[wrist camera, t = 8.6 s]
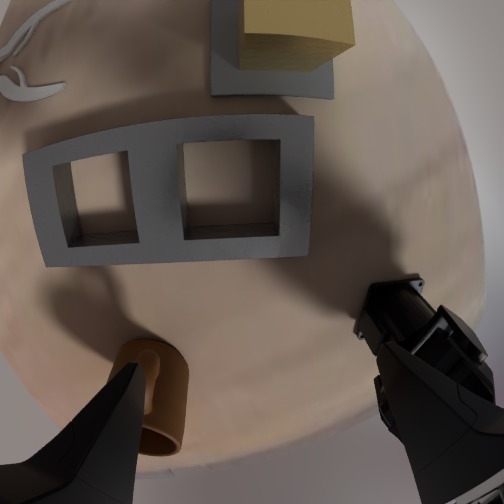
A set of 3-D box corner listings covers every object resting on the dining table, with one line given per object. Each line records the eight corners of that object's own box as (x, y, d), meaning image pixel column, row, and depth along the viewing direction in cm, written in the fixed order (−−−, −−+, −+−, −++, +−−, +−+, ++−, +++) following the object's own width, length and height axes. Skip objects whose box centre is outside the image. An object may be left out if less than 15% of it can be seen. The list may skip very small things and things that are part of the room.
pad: (325, 5, 12) (328, 2, 12) (330, 99, 16) (334, 98, 15) (212, -1, 12) (211, -5, 11) (211, 96, 15) (211, 95, 15)
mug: (122, 288, 21) (79, 372, 12) (207, 312, 22) (201, 407, 14) (119, 372, 25) (98, 442, 17) (183, 390, 27) (177, 463, 18)
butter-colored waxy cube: (307, 16, 12) (345, -30, 6) (309, 73, 14) (355, 45, 8) (237, 12, 12) (243, -43, 6) (238, 70, 14) (244, 33, 8)
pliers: (56, 90, 12) (-41, 134, 11) (67, 92, 14) (-31, 131, 12) (78, -15, 8) (-29, 47, 7) (86, -9, 10) (-20, 48, 8)
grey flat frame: (303, 117, 16) (314, 116, 14) (299, 241, 20) (308, 255, 18) (41, 150, 15) (22, 154, 13) (60, 253, 19) (46, 267, 17)
